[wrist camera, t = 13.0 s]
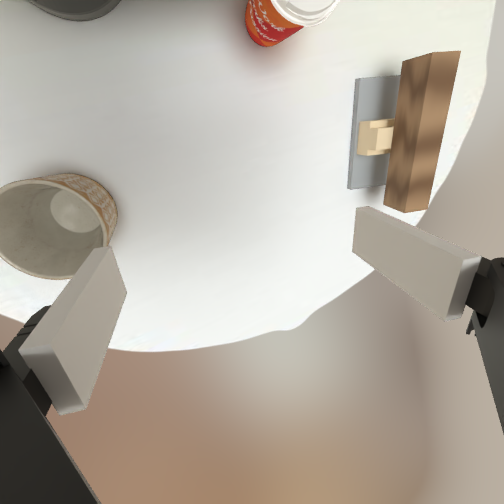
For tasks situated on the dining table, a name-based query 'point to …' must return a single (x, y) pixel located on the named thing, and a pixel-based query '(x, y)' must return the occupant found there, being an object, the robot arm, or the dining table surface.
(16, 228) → the planter
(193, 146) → the dining table surface
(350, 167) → the fulcrum
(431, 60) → the bar
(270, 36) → the coffee cup
